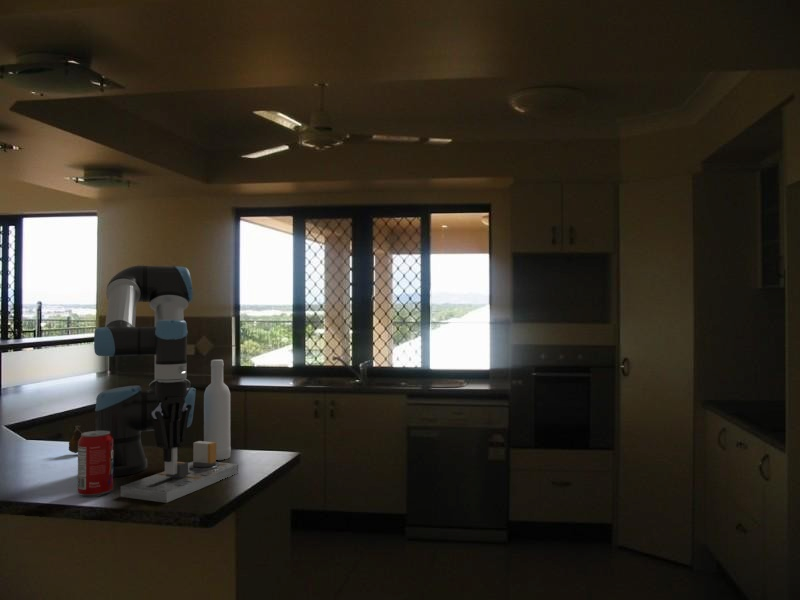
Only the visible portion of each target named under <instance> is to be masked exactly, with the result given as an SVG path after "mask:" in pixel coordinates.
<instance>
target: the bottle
mask: <svg viewBox="0 0 800 600" xmlns="http://www.w3.org/2000/svg"><path fill="white" fill-rule="evenodd" d="M224 366H225V363H224V360H223V359H212V360H210V384H208V386H207V387H205V390H204V394H203V441H206V442H216V460H218V461H223V460H224V459H225V460H228V459H229V458H231V453H232V451H231V450H232V447H231V391H230V389H229V386H228V385H227V384H226V383H225V382H224Z"/></svg>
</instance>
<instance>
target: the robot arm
mask: <svg viewBox="0 0 800 600" xmlns="http://www.w3.org/2000/svg"><path fill="white" fill-rule="evenodd" d="M193 291H194V290H193V282H192V277H191V273H190V270H189V269H188V268H187V267H186V266H185V267H184V266H176V265H172V266H169V265H166V266H165V265H164V266H163V265H133V266H129V267H127V268H124V269H123V270H120V271H118V272H117V274H114V276H113V277H112V278H111V279H110V280H109V282H108V283H107V286H106V290H105V296H106V299H107V300H108V302H107V309H106V317H105V318H106V319H105V323H104V325H105V326H103V327H97V328H95V330H94V334H93V336H94V337H93V350H94V354H95V356H98V357H111V358H113V357H130V356H154V380H152V381H151V382H150V383H149V384H148V390H142V387H141V386H140V385H128V386H123V387H122V386H121V387H115V388H110V389H108V390H103V391H101V392H99V393H98V395H97V396H96V402H95V409H94V411H95V431H110V435H111V436H112V437H113V478H114V477H122V476H129V475H134V474H137V473H140V472H143V471H145V470H146V469H147V468H148V458H147V456H145V451H144V447H143V444H142V439H141V438H142V437H141V434H142V433H141V432H152V431H153V433H154V436H155V437H154V438H155V442H156V443H155V444H156V447H157V448H160V449H163V462H164V471H165V474H171V475H174V474H177V461H178V460H179V448H182V447H183V443H185V441H186V436H187V435H186V434H187V429H188V428H189V427H191V425H192V424H193V418H194V410H195V405H196V402H195V401H196V393H197V392H196V391H197V389H196V388H194V387H191V385H192V384H191V381H190V380H189V379H187V375H188V374H187V369H188V368H187V365H188V362H187V361H188V360H187V357H188V356H187V355H188V354H187V353H188V350H187V349H188V333H189V331H188V326H187V325H188V323H187V321H186V320H184V319H185V317H184V316H185V315H184V311H185V310H186V309H188V307H189V303H191V302H192V301H193V299H194V294H193V293H194V292H193ZM137 303H149V305H148V306H149V308H150V309H151V310H152V311H154V326H136V320H137V319H136V316H137Z"/></svg>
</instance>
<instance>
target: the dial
mask: <svg viewBox="0 0 800 600" xmlns="http://www.w3.org/2000/svg"><path fill="white" fill-rule="evenodd" d="M192 446H193V451H192V453H193V454H192V456H193V461H192V462H193V467H195V468H209V467H213V466H215V465H216V462H217V461H216V442H206V441H204V440H203V441H202V440H198V441H195V442H193V443H192Z"/></svg>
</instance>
